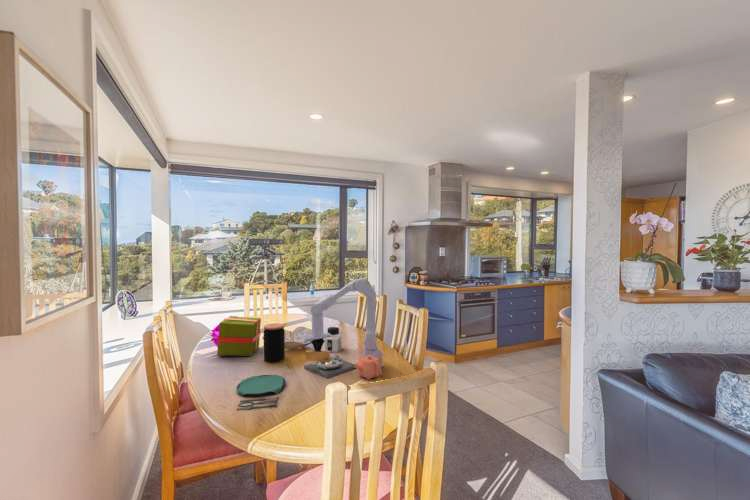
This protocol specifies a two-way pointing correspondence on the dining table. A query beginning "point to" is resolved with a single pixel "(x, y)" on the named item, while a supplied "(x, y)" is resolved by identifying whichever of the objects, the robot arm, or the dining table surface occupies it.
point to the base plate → (329, 372)
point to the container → (333, 340)
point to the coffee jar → (274, 342)
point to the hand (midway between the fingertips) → (317, 354)
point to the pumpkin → (369, 367)
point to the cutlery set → (260, 389)
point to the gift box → (237, 336)
